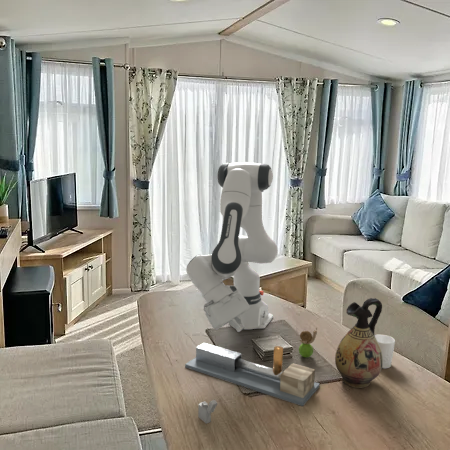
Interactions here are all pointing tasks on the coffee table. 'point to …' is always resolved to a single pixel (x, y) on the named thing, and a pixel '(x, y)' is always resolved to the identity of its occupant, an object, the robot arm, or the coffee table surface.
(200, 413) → the lighter
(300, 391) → the birch socket
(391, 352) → the white cup
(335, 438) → the coffee table surface
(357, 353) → the ceramic jug
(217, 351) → the grey sleeve
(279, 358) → the bolt with orange handle
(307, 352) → the snail figurine
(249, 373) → the slate board
